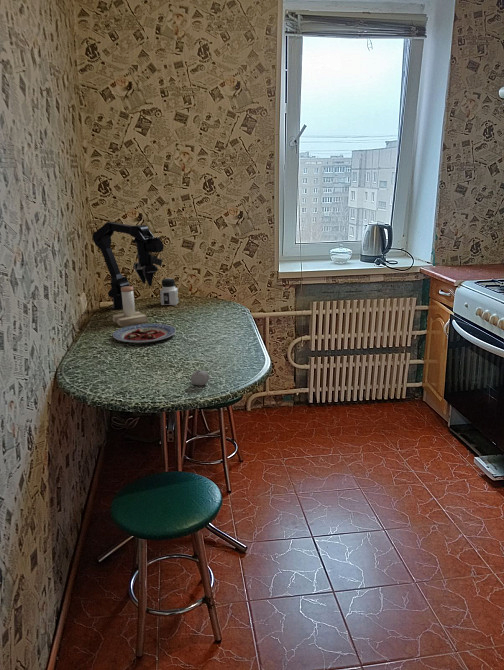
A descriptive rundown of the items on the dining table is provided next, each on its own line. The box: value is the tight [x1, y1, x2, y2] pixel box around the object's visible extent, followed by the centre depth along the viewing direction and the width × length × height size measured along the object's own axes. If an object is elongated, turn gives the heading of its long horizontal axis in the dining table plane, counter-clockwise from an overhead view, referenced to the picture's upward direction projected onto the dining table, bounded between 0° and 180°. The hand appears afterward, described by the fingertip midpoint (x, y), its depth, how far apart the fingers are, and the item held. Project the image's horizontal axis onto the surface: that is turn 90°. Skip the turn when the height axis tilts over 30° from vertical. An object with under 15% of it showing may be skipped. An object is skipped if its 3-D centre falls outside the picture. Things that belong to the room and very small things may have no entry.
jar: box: [121, 285, 136, 317], centre depth 243 cm, size 5×5×13 cm
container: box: [159, 277, 179, 306], centre depth 276 cm, size 8×8×13 cm
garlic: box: [190, 369, 210, 386], centre depth 171 cm, size 6×5×5 cm
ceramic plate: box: [112, 323, 177, 344], centre depth 223 cm, size 26×26×3 cm
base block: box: [112, 310, 148, 328], centre depth 245 cm, size 12×12×3 cm
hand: (147, 284), depth 259 cm, fingers open, 9 cm apart
